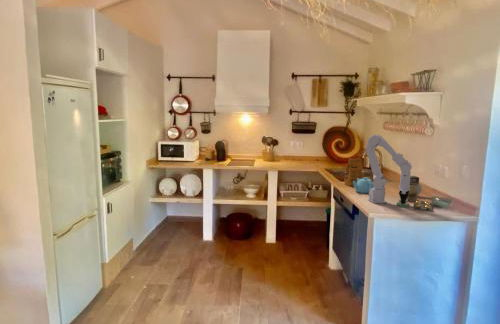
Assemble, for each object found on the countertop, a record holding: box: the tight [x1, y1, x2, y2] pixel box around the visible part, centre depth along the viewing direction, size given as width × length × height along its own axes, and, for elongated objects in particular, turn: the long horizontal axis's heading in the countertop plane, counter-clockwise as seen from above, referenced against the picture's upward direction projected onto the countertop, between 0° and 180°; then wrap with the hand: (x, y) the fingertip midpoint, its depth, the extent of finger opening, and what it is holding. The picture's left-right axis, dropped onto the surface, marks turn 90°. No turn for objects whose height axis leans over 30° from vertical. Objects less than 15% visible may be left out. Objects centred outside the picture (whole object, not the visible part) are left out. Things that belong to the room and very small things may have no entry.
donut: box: [418, 183, 423, 196], centre depth 232 cm, size 10×4×10 cm, turn 88°
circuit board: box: [396, 197, 410, 209], centre depth 208 cm, size 10×7×4 cm
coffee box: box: [407, 175, 420, 202], centre depth 221 cm, size 9×6×16 cm
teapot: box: [353, 177, 374, 195], centre depth 243 cm, size 15×15×11 cm
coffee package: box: [344, 157, 363, 187], centre depth 264 cm, size 10×12×22 cm
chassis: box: [412, 198, 433, 212], centre depth 203 cm, size 13×10×4 cm
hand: (403, 202), depth 208 cm, fingers open, 5 cm apart
